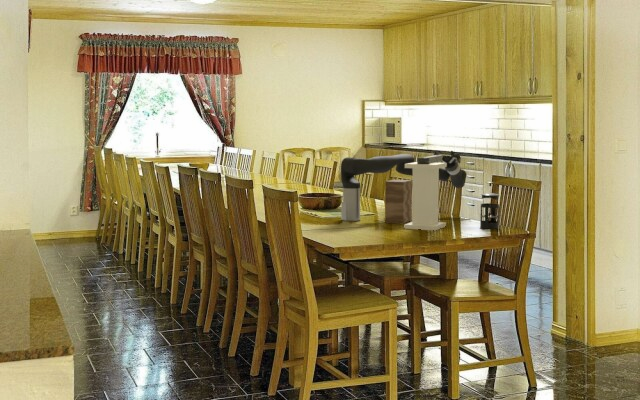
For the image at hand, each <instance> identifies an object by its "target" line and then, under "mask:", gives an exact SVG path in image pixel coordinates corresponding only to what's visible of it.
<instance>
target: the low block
mask: <svg viewBox="0 0 640 400" xmlns="http://www.w3.org/2000/svg"><path fill="white" fill-rule="evenodd" d="M412 183H413V179H411V180H410V179H391V180H386V181H385V186H384V187H385V188H384V189H385V190H384V199H385V201H384V203H385V204H384V208H385V209H384V215H385V216H384V217H385V218H384V223H387V224H400V223H401V224H402V223H404V224H407V223H410V222H412ZM409 221H410V222H409ZM406 222H407V223H406ZM401 224H400V225H401ZM402 225H403V224H402Z"/></svg>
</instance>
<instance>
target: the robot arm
mask: <svg viewBox="0 0 640 400" xmlns="http://www.w3.org/2000/svg"><path fill="white" fill-rule="evenodd" d="M435 155H442V161H440V163H447V167H443V168H439V181H442V182H448V181H449V179H450V182H451V184H452V186H453V187H454V188H456V189H461V188H463V187H465V185H466V179H467V171H465V170H464V169H462V168H461V166H460V164H461V163H462V162H461V161H462V158H461V155H460V154H459V153H457V154H456V153H455V152H454V151H453V150H450V155H444V154H443V153H439V151H438V150H434V153H433V156H435ZM415 159H416V158H415V157H414V155H412V154H409V153H399V154H394V155H380V156H379V155H377V156H373V157H371V158H359V157H344V158H343V159H342V161H341V163H340V178H341V185H342V201H341V202H340V203H341V205H340V206H341V207H340V208H341V209H340V210H341V214H340V215H341V216H340V217H341V220H342V221H345V222H355V221H356V222H357V221H360V220H361V182H360V181H358V180H357V179H356V177H355V176H360V175H365V174H369V173H370V174H384V173H385V174H386V173H387V172H390V170H392V169H393V168H394V167H395V171H396V173H399V174H401V175H404V176H411V177H413V168H405V164H407V163H413V162H416V161H415ZM436 163H439V162H436Z"/></svg>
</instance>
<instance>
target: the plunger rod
mask: <svg viewBox="0 0 640 400" xmlns="http://www.w3.org/2000/svg"><path fill="white" fill-rule="evenodd" d="M416 159H417V161H416V162H417V164H430V163H437V162H438V163H441V161H442V155H435V156H434V155H428V156H422V157H421V156H419V157H417V158H416Z"/></svg>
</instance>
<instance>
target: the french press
mask: <svg viewBox="0 0 640 400" xmlns="http://www.w3.org/2000/svg"><path fill="white" fill-rule="evenodd" d="M485 183H486V184H488V186H489V192H486V193H481V194H480V195H481V199H493V200H499V196H500V194H499V193H491V191H492V190H491V187H492V184H495V181H487V182H485ZM483 209H484V214H483ZM496 211H497V212H496ZM499 215H500V204H499V203H493V202H492V203H491V202H489V203H488V202H486V203H480V223H479V224H480V226H479V229H480V230H486V229H496V230H499V229H500V216H499ZM483 218H484V220H483ZM489 219H490V220H489ZM498 228H499V229H498Z"/></svg>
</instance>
